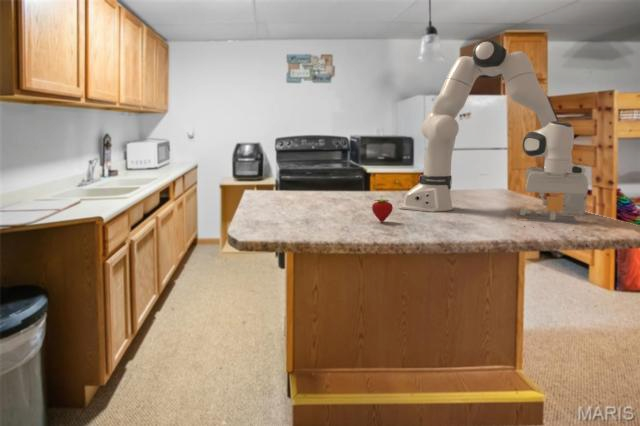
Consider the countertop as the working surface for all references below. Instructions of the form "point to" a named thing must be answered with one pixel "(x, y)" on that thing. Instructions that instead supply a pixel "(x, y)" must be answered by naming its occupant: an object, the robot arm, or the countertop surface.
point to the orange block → (554, 203)
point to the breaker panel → (546, 218)
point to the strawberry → (382, 209)
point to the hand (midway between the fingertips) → (554, 205)
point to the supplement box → (575, 204)
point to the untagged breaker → (522, 210)
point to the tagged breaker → (552, 215)
